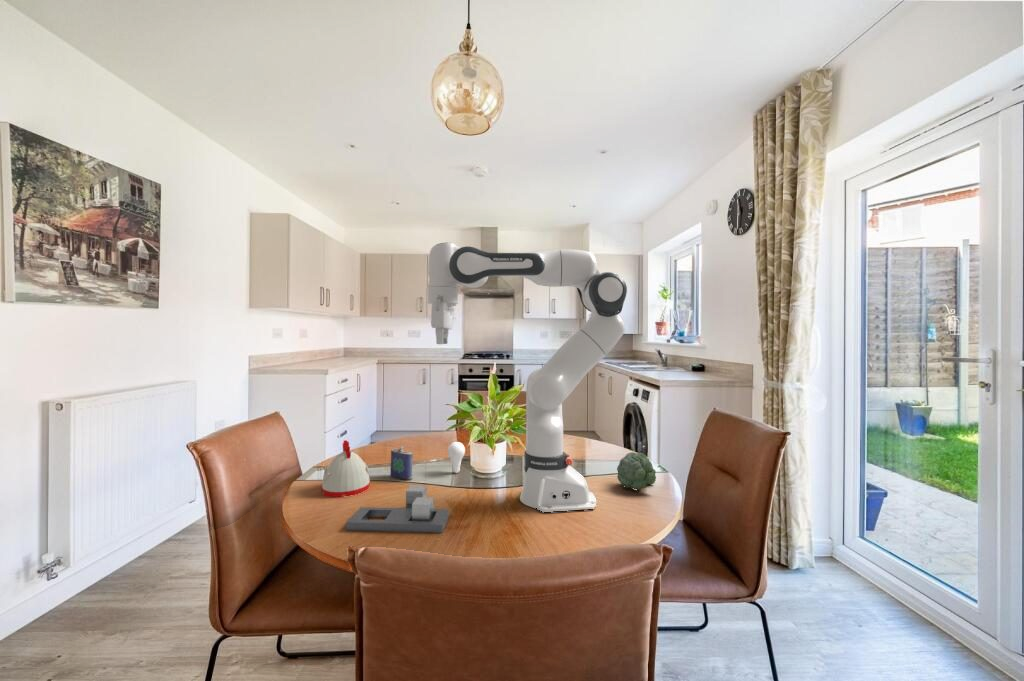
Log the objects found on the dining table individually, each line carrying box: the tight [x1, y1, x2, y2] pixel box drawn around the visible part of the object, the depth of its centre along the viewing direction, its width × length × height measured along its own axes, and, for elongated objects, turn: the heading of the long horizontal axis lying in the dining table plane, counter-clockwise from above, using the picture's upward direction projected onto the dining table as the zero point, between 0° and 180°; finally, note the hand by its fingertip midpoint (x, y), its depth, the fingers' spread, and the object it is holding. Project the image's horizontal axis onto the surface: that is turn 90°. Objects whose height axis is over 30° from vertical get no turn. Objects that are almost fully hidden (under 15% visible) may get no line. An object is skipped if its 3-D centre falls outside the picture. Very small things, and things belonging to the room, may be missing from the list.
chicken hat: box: [321, 439, 371, 498], centre depth 127 cm, size 14×14×15 cm
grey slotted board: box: [345, 506, 450, 534], centre depth 103 cm, size 24×9×2 cm, turn 88°
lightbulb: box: [447, 441, 466, 474], centre depth 143 cm, size 6×6×11 cm
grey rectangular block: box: [405, 484, 427, 508], centre depth 112 cm, size 4×4×6 cm
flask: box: [389, 446, 414, 481], centre depth 137 cm, size 9×3×11 cm, turn 61°
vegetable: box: [616, 452, 657, 491], centre depth 131 cm, size 12×13×15 cm
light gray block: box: [412, 497, 435, 522], centre depth 103 cm, size 4×4×6 cm
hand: (442, 344), depth 120 cm, fingers open, 8 cm apart
